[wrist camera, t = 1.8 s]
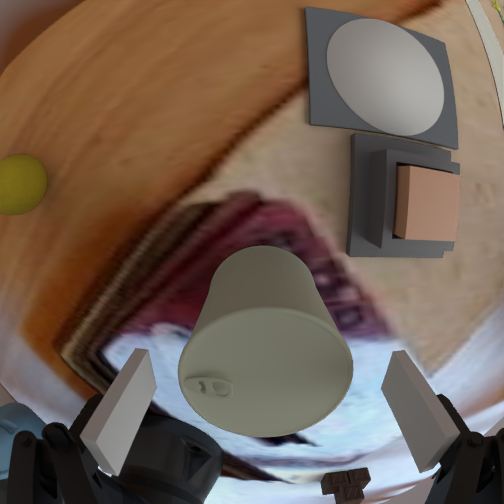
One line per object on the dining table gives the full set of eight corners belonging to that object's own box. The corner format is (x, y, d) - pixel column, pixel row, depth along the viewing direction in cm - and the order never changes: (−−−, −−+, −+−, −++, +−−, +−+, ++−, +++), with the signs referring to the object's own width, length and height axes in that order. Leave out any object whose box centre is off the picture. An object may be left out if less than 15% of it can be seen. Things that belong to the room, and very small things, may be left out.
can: (205, 246, 23) (158, 311, 12) (317, 243, 23) (371, 306, 11) (213, 342, 26) (189, 441, 14) (312, 339, 25) (341, 437, 14)
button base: (345, 253, 23) (361, 268, 19) (351, 134, 21) (368, 127, 17) (437, 254, 23) (460, 267, 19) (444, 151, 20) (470, 150, 17)
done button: (384, 229, 20) (405, 239, 17) (388, 166, 19) (410, 165, 16) (432, 232, 20) (456, 241, 17) (436, 174, 19) (461, 175, 16)
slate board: (309, 125, 20) (310, 123, 20) (304, 9, 17) (305, 6, 17) (455, 149, 20) (458, 149, 20) (442, 44, 17) (445, 42, 17)
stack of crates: (402, 435, 31) (417, 467, 24) (369, 481, 34) (377, 508, 28) (308, 448, 31) (314, 487, 24) (290, 491, 34) (293, 521, 28)
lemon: (67, 160, 21) (9, 160, 14) (55, 215, 23) (0, 231, 15) (34, 150, 21) (-21, 149, 13) (23, 200, 22) (-29, 211, 14)
